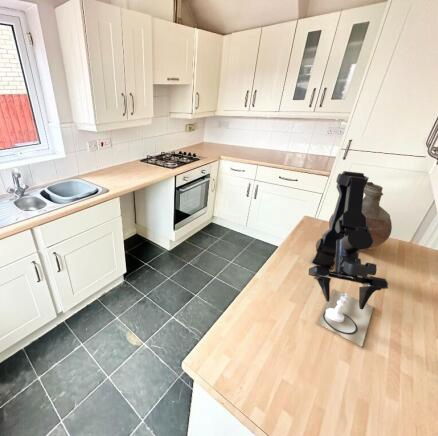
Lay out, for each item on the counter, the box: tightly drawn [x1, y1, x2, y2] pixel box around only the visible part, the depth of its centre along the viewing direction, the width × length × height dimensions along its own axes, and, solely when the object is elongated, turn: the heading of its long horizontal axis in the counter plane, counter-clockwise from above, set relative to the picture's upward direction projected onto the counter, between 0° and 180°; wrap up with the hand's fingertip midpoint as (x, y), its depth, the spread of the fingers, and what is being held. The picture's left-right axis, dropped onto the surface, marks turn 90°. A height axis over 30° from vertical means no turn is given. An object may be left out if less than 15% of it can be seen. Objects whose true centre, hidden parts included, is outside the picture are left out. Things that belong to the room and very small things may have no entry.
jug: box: [328, 181, 393, 250], centre depth 107 cm, size 22×22×30 cm
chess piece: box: [326, 292, 348, 322], centre depth 76 cm, size 5×5×10 cm
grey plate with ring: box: [318, 289, 374, 348], centre depth 79 cm, size 11×20×1 cm, turn 134°
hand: (344, 305), depth 74 cm, fingers open, 8 cm apart
